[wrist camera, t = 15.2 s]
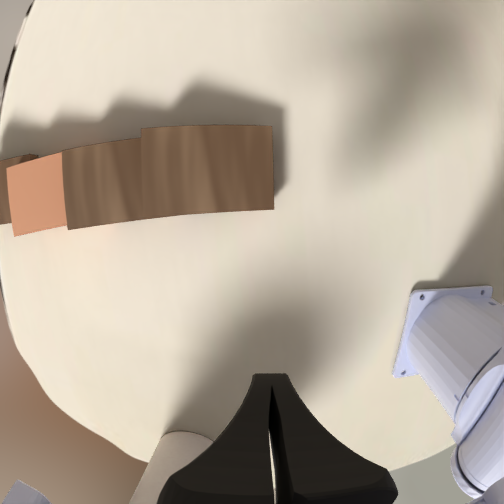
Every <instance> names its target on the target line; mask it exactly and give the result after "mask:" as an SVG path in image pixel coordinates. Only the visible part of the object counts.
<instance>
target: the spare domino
mask: <svg viewBox="0 0 504 504" xmlns="http://www.w3.org/2000/svg"><path fill="white" fill-rule="evenodd" d="M6 170H7V185H8V196H9V205H10V213H11V220H12V226H13V232H14V237H15V236H19V235H24V234H28V233H32V232H37V231H42V230H46V229H51V228H56V227H60V226H65V225H67V219H66V211H65V201H64V189H63V173H62V152H60V153H56V154H52V155H49V156H45V157H41V158H38V159H34V160H31V161H27V162H24V163H21V164H18V165H15V166H11V167H8V168H6Z"/></svg>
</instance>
